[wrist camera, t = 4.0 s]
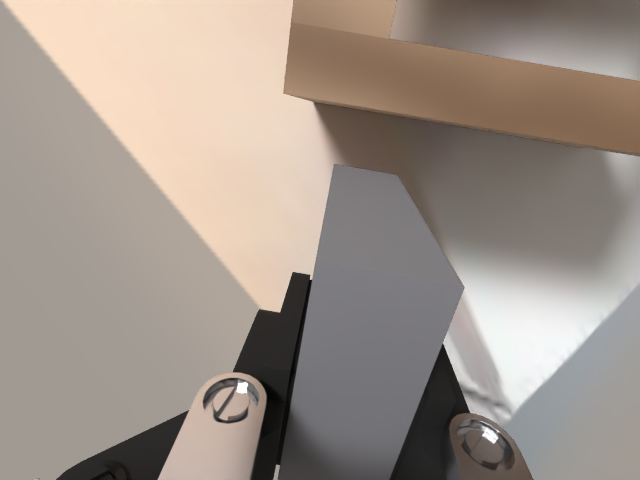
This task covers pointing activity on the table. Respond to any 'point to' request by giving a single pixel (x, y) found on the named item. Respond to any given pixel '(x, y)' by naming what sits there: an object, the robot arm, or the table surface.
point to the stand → (451, 81)
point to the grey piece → (367, 331)
